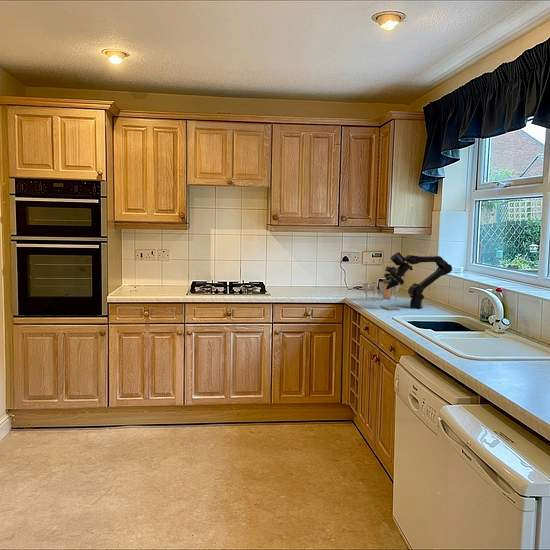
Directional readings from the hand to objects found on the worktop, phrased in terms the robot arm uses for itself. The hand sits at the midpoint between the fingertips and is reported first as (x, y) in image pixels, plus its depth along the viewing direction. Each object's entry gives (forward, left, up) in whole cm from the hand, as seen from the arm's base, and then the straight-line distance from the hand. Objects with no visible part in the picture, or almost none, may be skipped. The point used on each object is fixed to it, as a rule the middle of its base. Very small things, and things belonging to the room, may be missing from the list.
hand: (384, 288), depth 331 cm
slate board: (-3, -3, -13) cm, 14 cm away
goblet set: (+15, -30, -13) cm, 36 cm away
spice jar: (-1, -1, -7) cm, 7 cm away
